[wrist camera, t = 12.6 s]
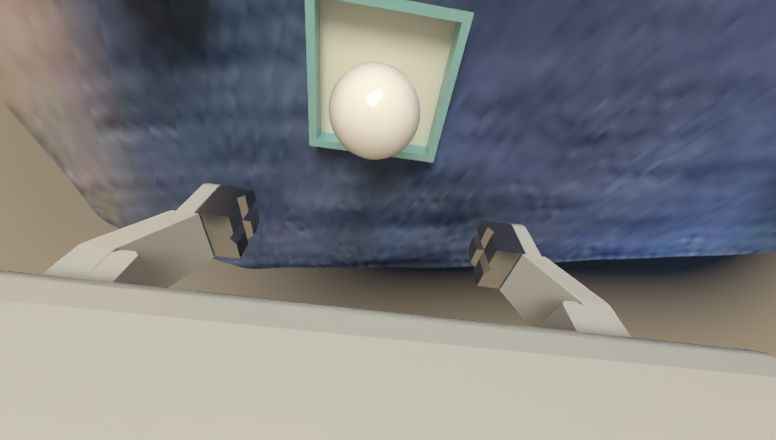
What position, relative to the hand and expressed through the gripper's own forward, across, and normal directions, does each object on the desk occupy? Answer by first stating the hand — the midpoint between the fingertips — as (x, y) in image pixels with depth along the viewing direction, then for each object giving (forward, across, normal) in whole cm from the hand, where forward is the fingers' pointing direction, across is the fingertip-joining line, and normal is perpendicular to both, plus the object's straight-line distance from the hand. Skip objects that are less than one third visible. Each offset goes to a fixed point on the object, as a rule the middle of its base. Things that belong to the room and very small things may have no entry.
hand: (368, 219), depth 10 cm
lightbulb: (+20, 0, 0) cm, 20 cm away
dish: (+20, 0, 0) cm, 21 cm away
